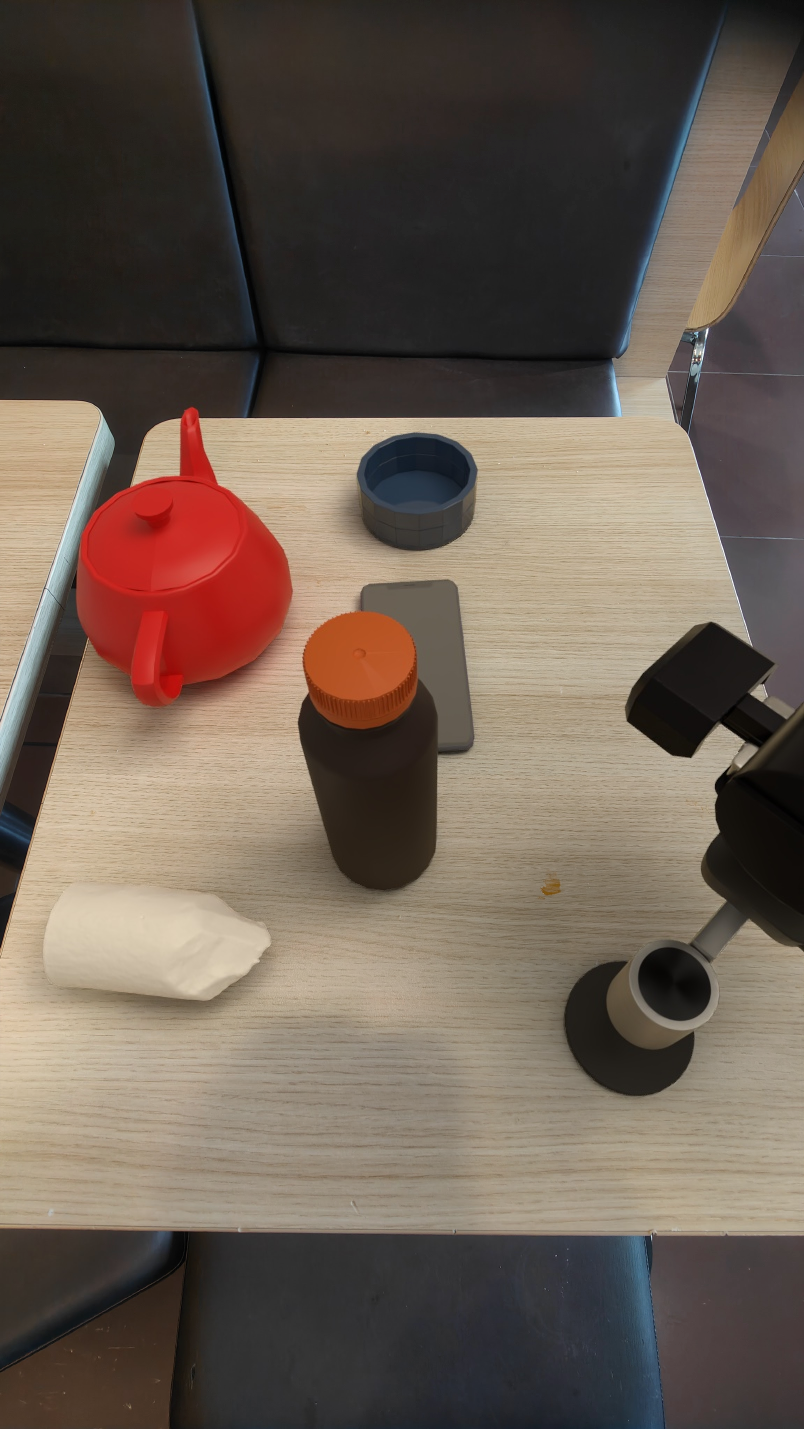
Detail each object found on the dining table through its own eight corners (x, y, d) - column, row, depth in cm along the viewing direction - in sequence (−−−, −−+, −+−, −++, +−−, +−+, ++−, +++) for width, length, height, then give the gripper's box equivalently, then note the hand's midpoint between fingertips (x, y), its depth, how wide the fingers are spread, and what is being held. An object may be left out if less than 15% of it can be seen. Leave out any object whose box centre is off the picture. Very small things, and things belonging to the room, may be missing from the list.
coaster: (662, 951, 46) (664, 948, 45) (713, 1078, 42) (716, 1077, 42) (547, 978, 45) (548, 976, 45) (589, 1110, 42) (591, 1109, 41)
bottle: (456, 827, 50) (469, 634, 34) (397, 913, 48) (378, 749, 31) (371, 777, 53) (342, 571, 36) (309, 856, 50) (246, 673, 33)
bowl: (458, 462, 69) (459, 424, 66) (488, 538, 64) (491, 501, 61) (351, 481, 68) (347, 443, 65) (373, 559, 63) (370, 523, 60)
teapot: (287, 750, 54) (254, 642, 44) (64, 754, 54) (-21, 648, 44) (309, 498, 67) (287, 370, 57) (130, 503, 68) (76, 376, 57)
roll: (270, 1017, 45) (251, 995, 40) (68, 995, 46) (26, 971, 41) (289, 915, 48) (273, 882, 43) (100, 896, 49) (65, 862, 44)
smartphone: (364, 752, 53) (359, 582, 60) (365, 759, 53) (360, 590, 61) (476, 745, 53) (457, 576, 60) (475, 752, 53) (456, 585, 61)
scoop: (759, 815, 45) (799, 770, 40) (822, 864, 43) (871, 823, 38) (589, 1005, 39) (612, 979, 35) (654, 1068, 38) (687, 1049, 33)
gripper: (573, 672, 28) (528, 845, 41) (1133, 1094, 20) (857, 1139, 33) (753, 515, 32) (659, 719, 45) (1281, 818, 24) (981, 957, 37)
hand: (772, 865), depth 40 cm, fingers closed on scoop
